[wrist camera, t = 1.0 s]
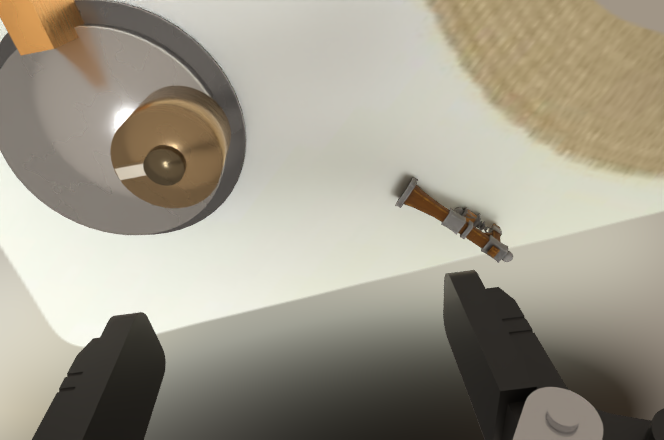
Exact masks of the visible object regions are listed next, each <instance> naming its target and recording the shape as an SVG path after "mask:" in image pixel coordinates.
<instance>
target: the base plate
mask: <svg viewBox="0 0 664 440" xmlns="http://www.w3.org/2000/svg"><path fill="white" fill-rule="evenodd" d="M75 4H76V6H77V8H78V10H79V13H80V15H81V17H82V19H83V22H84V23H92V24H107V25H114V26H119V27H123V28H126V29H130V30H133V31H136V32H139V33H141V34H143V35H146V36H148V37H151V38H152V39H154V40H156V41H158V42H160V43H161V44H163V45H165V46H166V47H168V48H169V49H171V50H172V51H174V52H175V53H176V54H178V55H179V56H180V57H181V58H182V59H184V60H185V61H186V62H187V63H188V64H189V65H190V66H191V67H192V68H193V69H194V70H195V71H196V72H197V73H198V74H199V76H200V77H201V78H202V79H203V80H204V82H205V83H206V85H207V86H208V88H209V89H210V90H211V92H212V94H213V96H214V98H215V99H216V101H217V103H218V105H219V106H220V107H221V108H222V110H223V111H224V113H225V115H226V116H227V119H228V121H229V125H230V129H231V141H230V146H229V149H228V153H227V159H226V164H225V168H224V172H223V175H222V178H221V181H220V184H219V187H218V189H217V190H216V192H215V194H214V196H213V198H212V199H211V200H210V202H209V203H208V204H207V206H206V207H205V208H204V209H203V210H202V211H201V212H199V213H198V214H197V215H196V216H194V217H193V218H192V219H190V220H189V221H187V222H185V223H183V224H182V225H180V226H178V227H175V228H172V229H170V230H167V231H163V232H159V233H154V234H161V233H168V232H172V231H176V230H180V229H183V228H186V227H188V226H191V225H193V224H195V223H197V222H199V221H201V220H203V219H204V218H206V217H207V216H209V215H210V214H211V213H213V212H214V211H215V210H216V209H217V208H218V207H219V206H220V205H221V204H222V203H223V202H224V201H225V200H226V199H227V197H228V196H229V195H230V193H231V192H232V190H233V188H234V186H235V185H236V183H237V181H238V178H239V175H240V173H241V170H242V166H243V161H244V156H245V147H246V134H245V124H244V119H243V114H242V110H241V107H240V104H239V102H238V99H237V96H236V94H235V92H234V90H233V88H232V86H231V84H230V82H229V80H228V78H227V77H226V75H225V74H224V72H223V71H222V69H221V68H220V66H219V65H218V64H217V63H216V61H215V60H214V59H213V58H212V57H211V56H210V54H209V53H208V52H207V51H206V50H205V49H204V48H203V47H202V46H201V45H200V44H199V43H197V42H196V41H195V40H194V39H193V38H192V37H191V36H189V35H188V34H187V33H185V32H184V31H183V30H181V29H180V28H178V27H177V26H175V25H174V24H172V23H170V22H168V21H167V20H165V19H163V18H162V17H160V16H158V15H155V14H153V13H151V12H148V11H146V10H144V9H141V8H138V7H134V6H131V5H128V4H124V3H120V2H113V1H107V0H75ZM16 50H17V48H16V46H15V44H14V42H13V40H12V38H11V36H10V35H9V33H7V34H6V35H5V36H4V38H3V39H2V41H1V42H0V69H1V68H2V66H3V65H4V63H5V62H6V60H7V59H8V58H9V57H10V56H11V55H12V54H13V53H14V52H15V51H16ZM146 235H150V234H146Z"/></svg>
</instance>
